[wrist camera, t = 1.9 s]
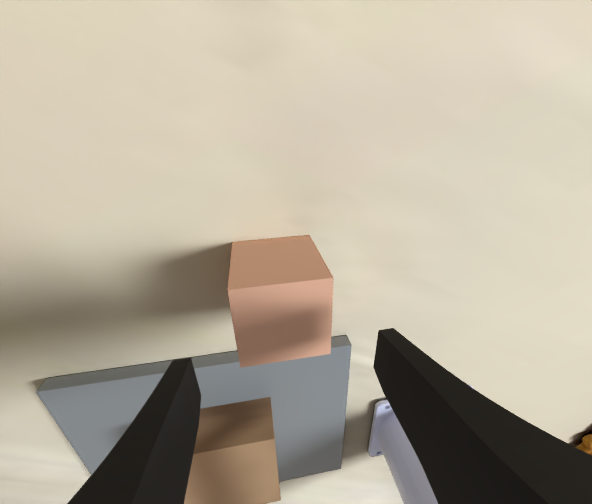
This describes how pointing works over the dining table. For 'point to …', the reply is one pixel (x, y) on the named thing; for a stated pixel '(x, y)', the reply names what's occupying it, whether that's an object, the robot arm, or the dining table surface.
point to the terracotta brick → (279, 300)
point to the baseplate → (216, 403)
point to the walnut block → (235, 455)
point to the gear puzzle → (586, 444)
